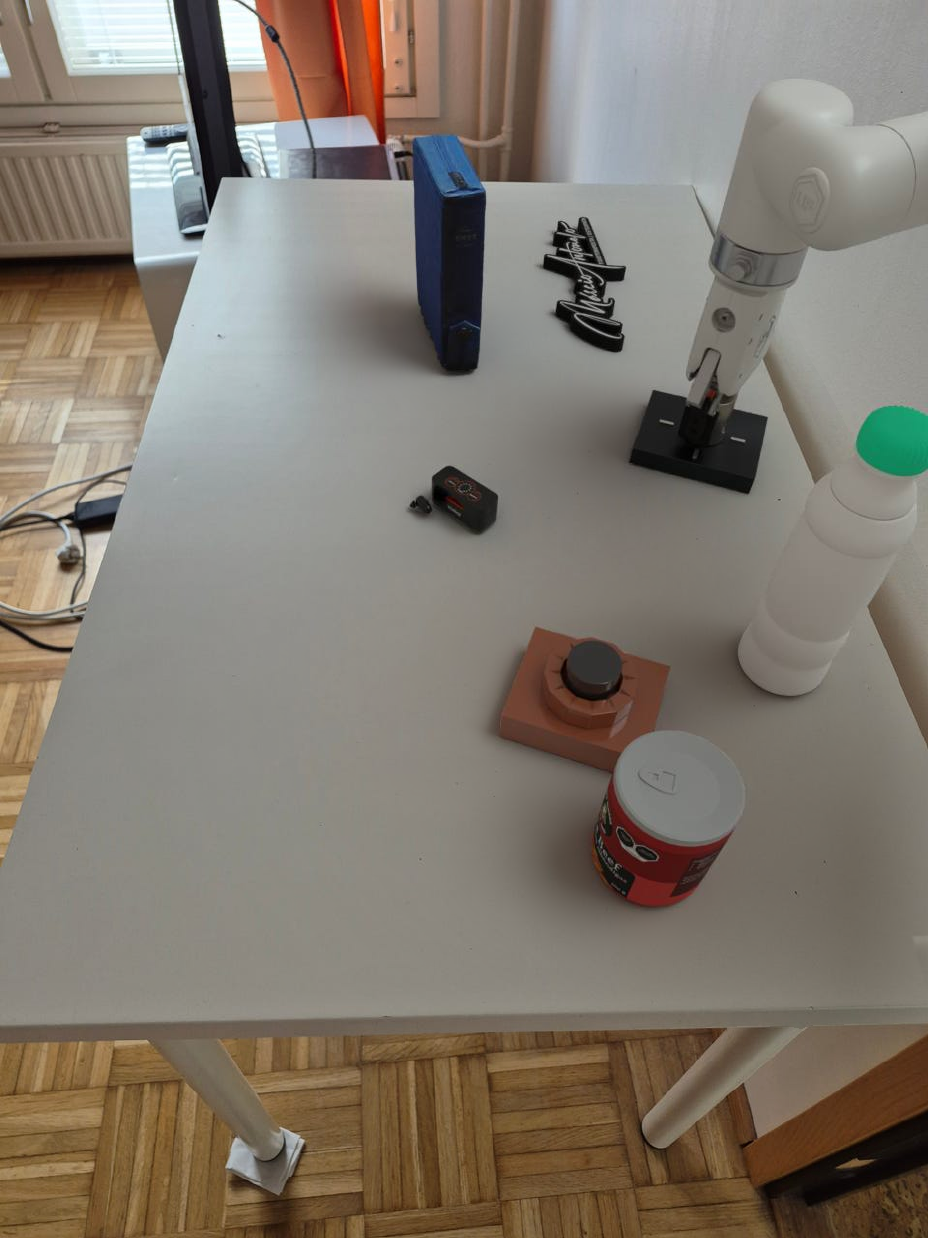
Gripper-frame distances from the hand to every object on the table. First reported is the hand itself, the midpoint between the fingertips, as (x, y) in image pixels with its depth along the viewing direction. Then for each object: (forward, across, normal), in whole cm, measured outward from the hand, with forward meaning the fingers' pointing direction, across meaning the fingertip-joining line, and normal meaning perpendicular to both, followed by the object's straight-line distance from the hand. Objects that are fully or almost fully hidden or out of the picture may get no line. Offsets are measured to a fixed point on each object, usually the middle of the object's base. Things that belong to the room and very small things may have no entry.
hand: (704, 424), depth 88 cm
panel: (+3, 0, 0) cm, 3 cm away
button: (-2, -35, -5) cm, 35 cm away
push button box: (+3, -35, -5) cm, 35 cm away
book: (+3, +1, +31) cm, 31 cm away
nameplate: (+3, +20, +23) cm, 31 cm away
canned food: (+3, -43, -15) cm, 46 cm away
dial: (+1, 0, 0) cm, 1 cm away
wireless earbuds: (+3, -22, +15) cm, 27 cm away
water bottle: (+3, -22, -17) cm, 27 cm away
